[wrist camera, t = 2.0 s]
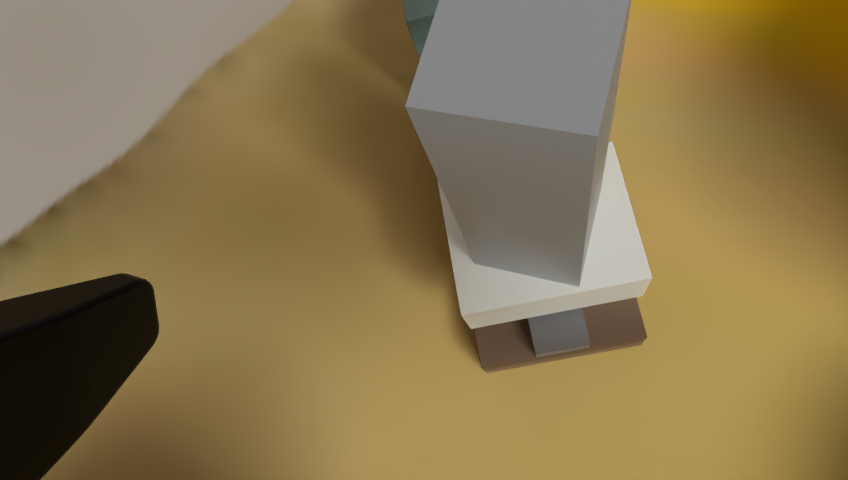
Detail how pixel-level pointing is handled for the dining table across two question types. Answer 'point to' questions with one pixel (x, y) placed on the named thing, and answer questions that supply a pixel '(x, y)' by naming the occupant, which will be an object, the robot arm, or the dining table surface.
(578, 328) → the rail bed
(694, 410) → the dining table surface
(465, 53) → the carriage
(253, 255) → the dining table surface
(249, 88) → the dining table surface
